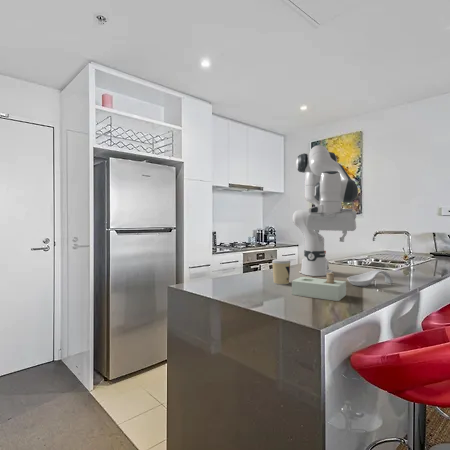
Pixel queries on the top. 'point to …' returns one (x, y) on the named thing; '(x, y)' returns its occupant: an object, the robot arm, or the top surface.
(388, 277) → the spoon rest
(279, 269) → the coffee cup
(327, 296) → the hole block
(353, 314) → the top surface
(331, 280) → the peg
